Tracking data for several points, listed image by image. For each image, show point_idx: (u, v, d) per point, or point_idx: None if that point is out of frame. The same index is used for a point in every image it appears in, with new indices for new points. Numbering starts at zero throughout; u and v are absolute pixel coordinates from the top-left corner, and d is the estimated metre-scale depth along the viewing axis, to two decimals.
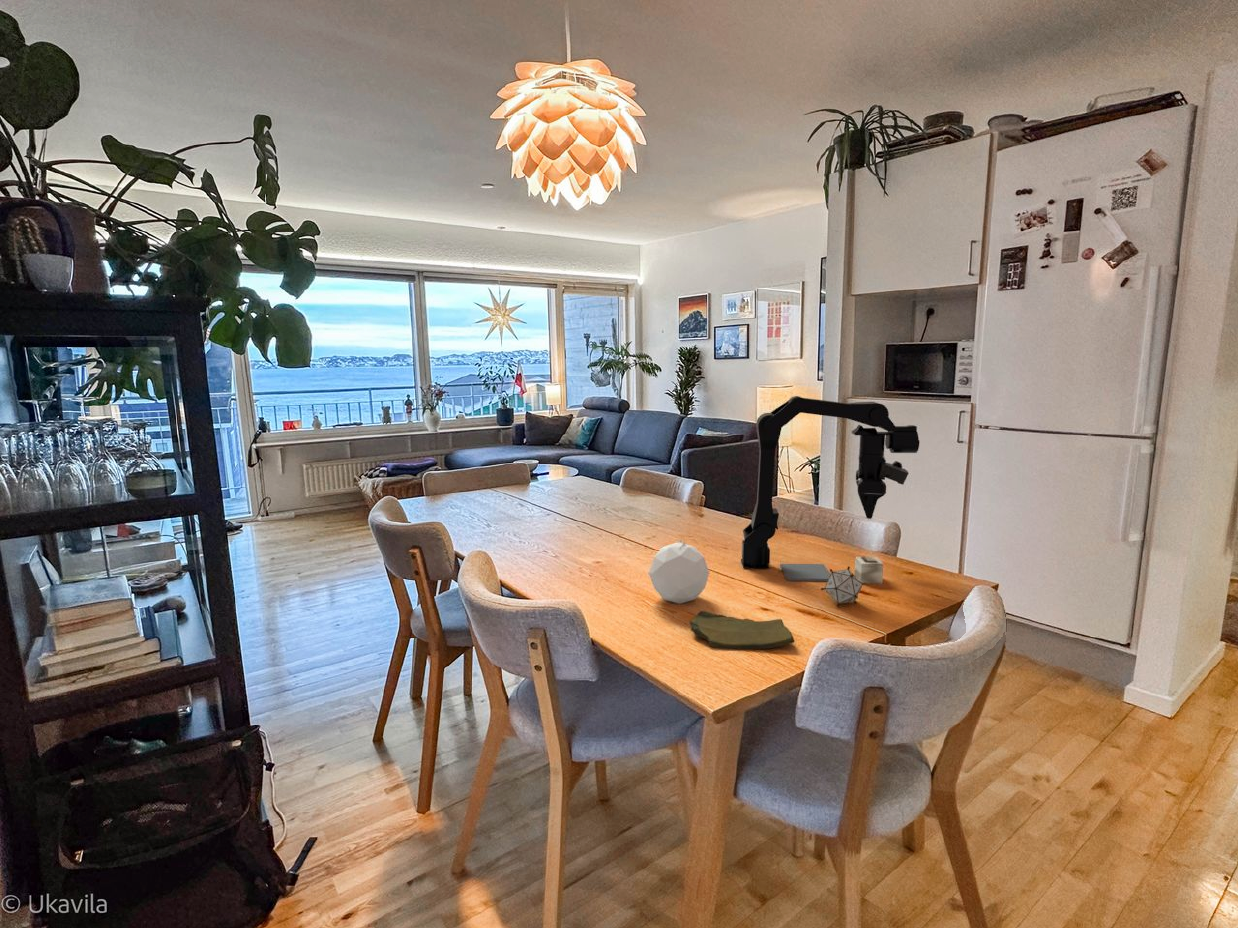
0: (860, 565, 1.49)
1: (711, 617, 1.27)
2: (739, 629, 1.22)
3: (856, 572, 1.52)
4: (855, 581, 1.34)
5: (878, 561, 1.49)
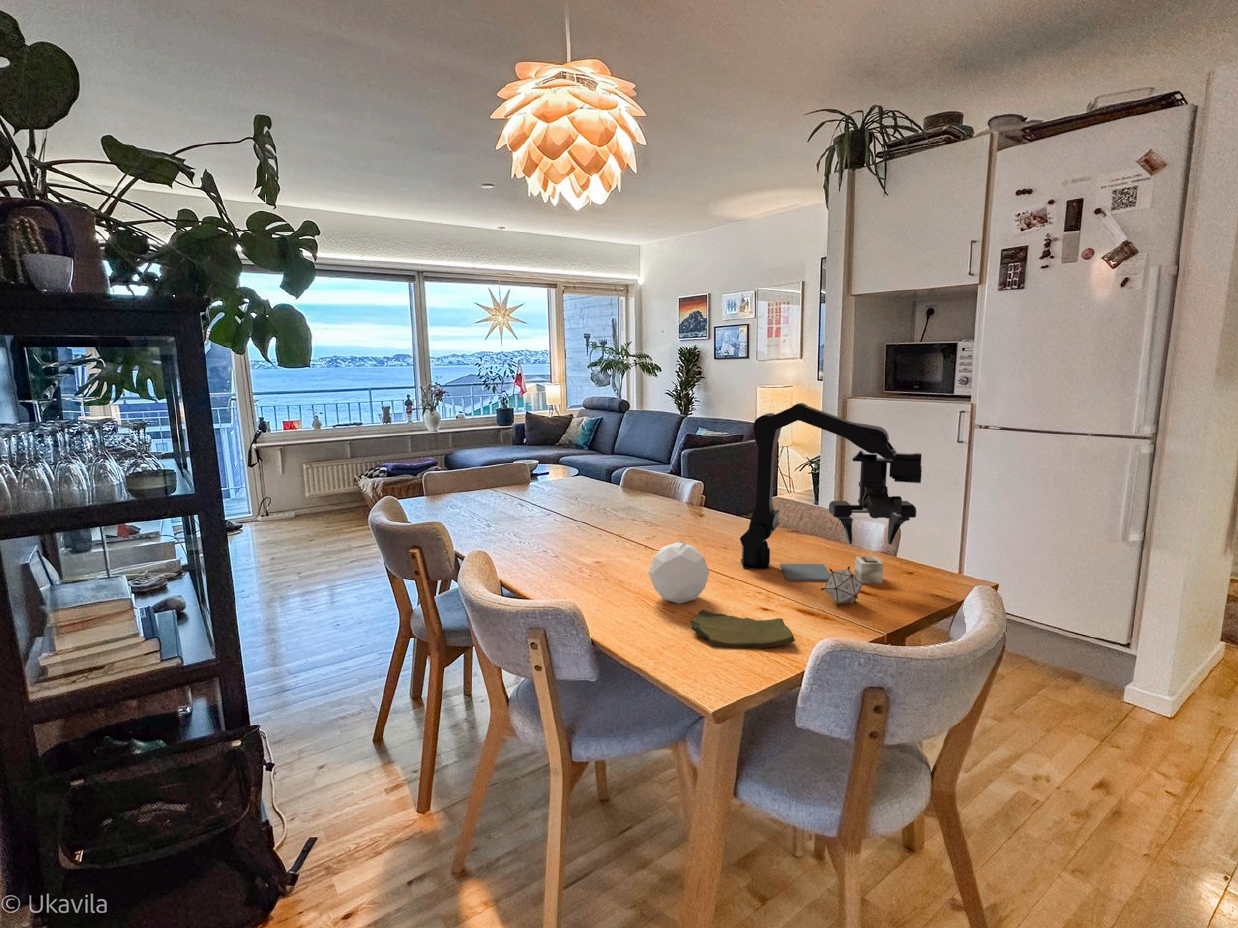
0: (860, 565, 1.49)
1: (711, 616, 1.27)
2: (740, 628, 1.23)
3: (856, 572, 1.52)
4: (855, 581, 1.34)
5: (878, 561, 1.49)
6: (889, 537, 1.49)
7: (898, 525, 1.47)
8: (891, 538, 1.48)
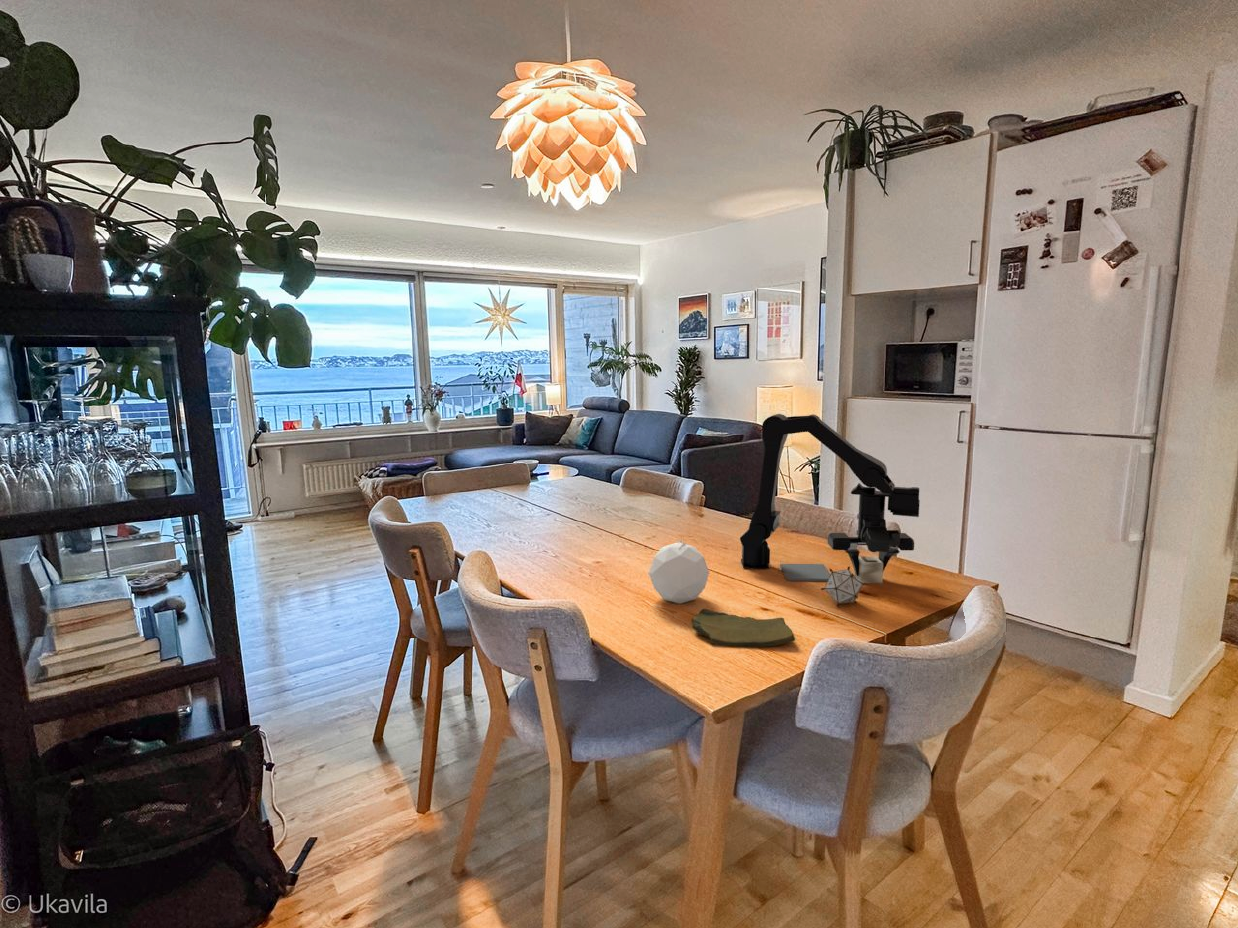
0: (860, 565, 1.49)
1: (712, 615, 1.28)
2: (740, 627, 1.23)
3: None
4: (855, 581, 1.34)
5: (878, 561, 1.49)
6: None
7: (888, 557, 1.48)
8: None
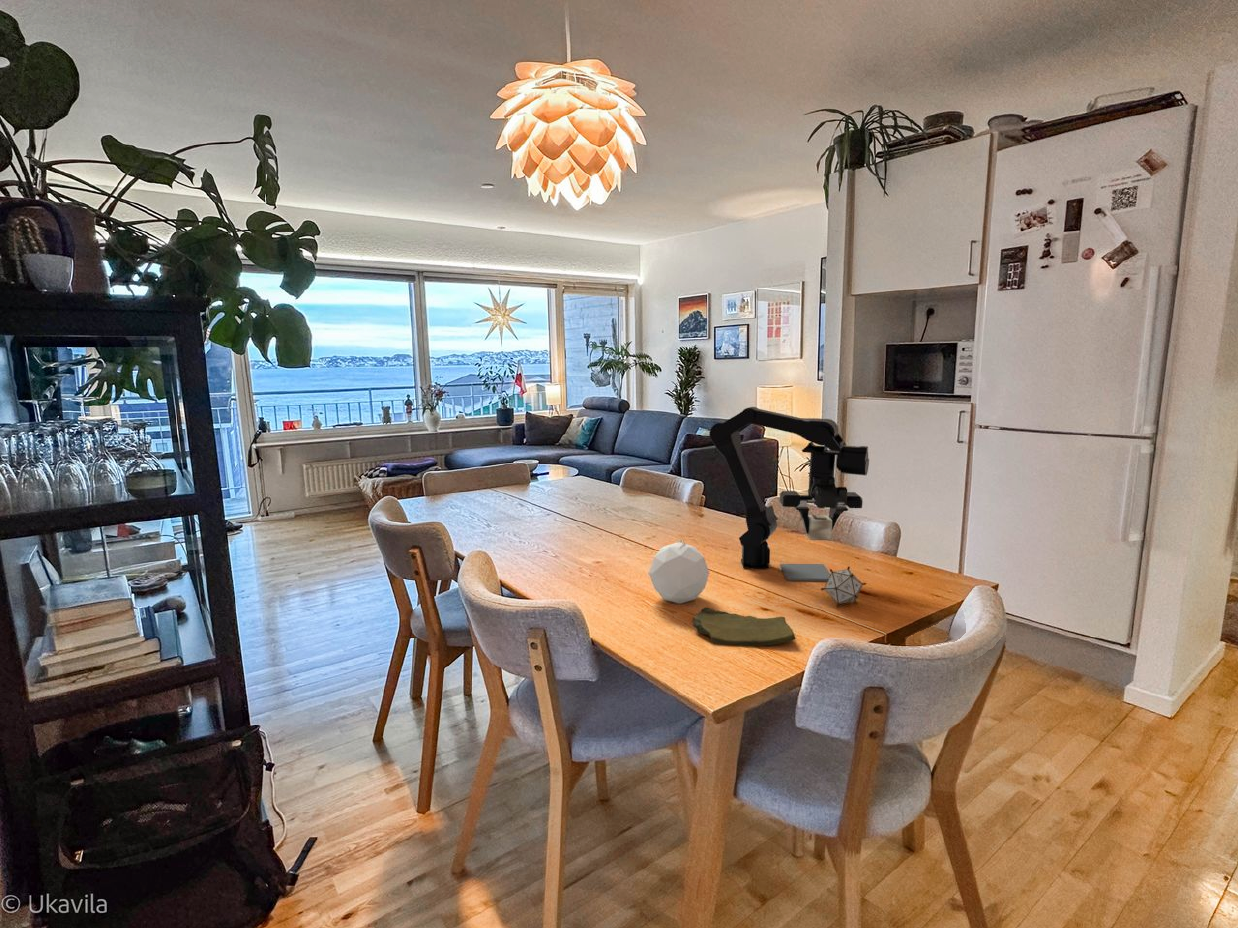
0: (810, 522, 1.51)
1: (714, 614, 1.28)
2: (741, 626, 1.24)
3: None
4: (855, 581, 1.34)
5: (828, 518, 1.52)
6: None
7: (837, 515, 1.51)
8: None
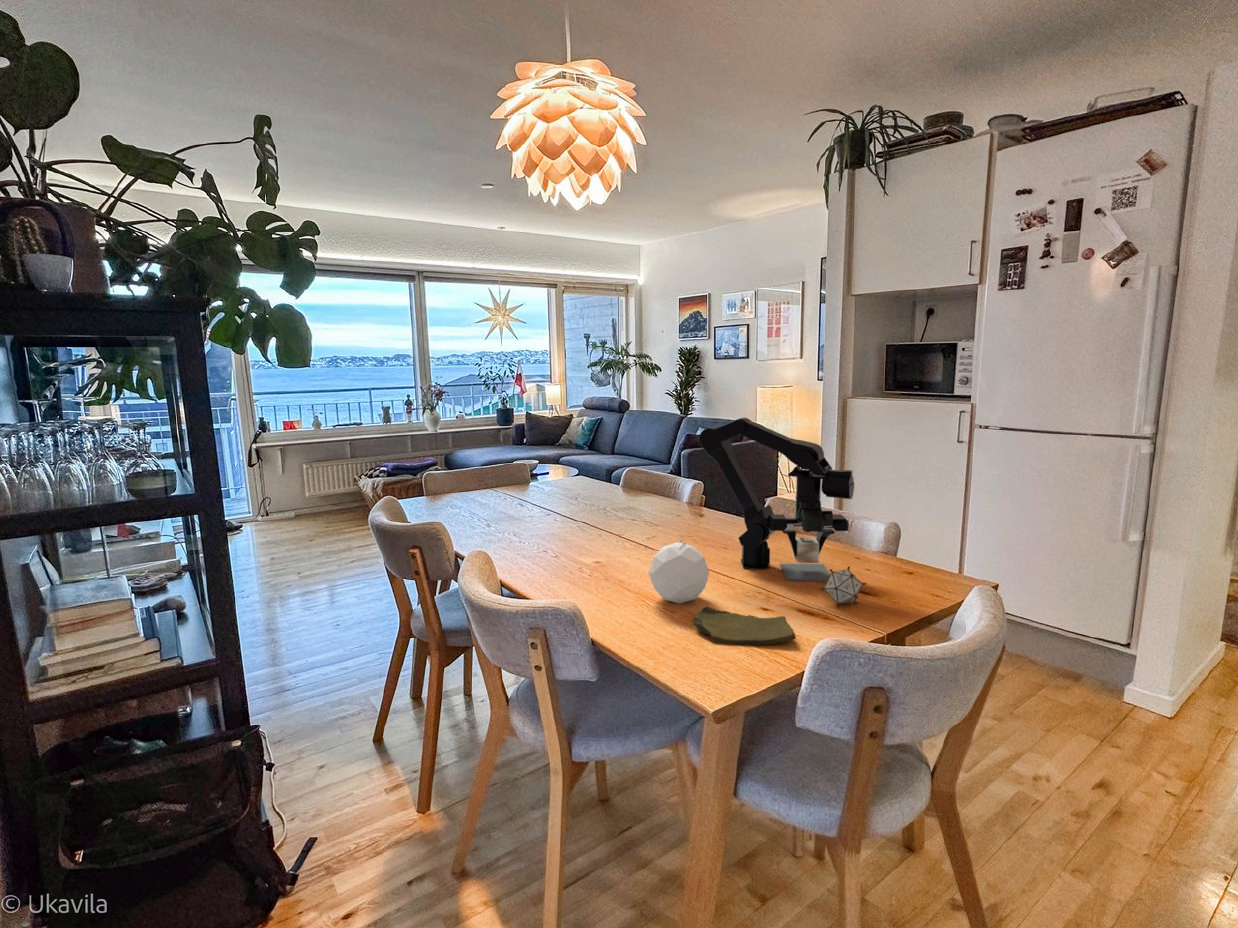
0: (797, 545, 1.53)
1: (714, 613, 1.29)
2: (742, 625, 1.24)
3: None
4: (855, 581, 1.34)
5: (815, 541, 1.54)
6: None
7: (824, 538, 1.53)
8: None
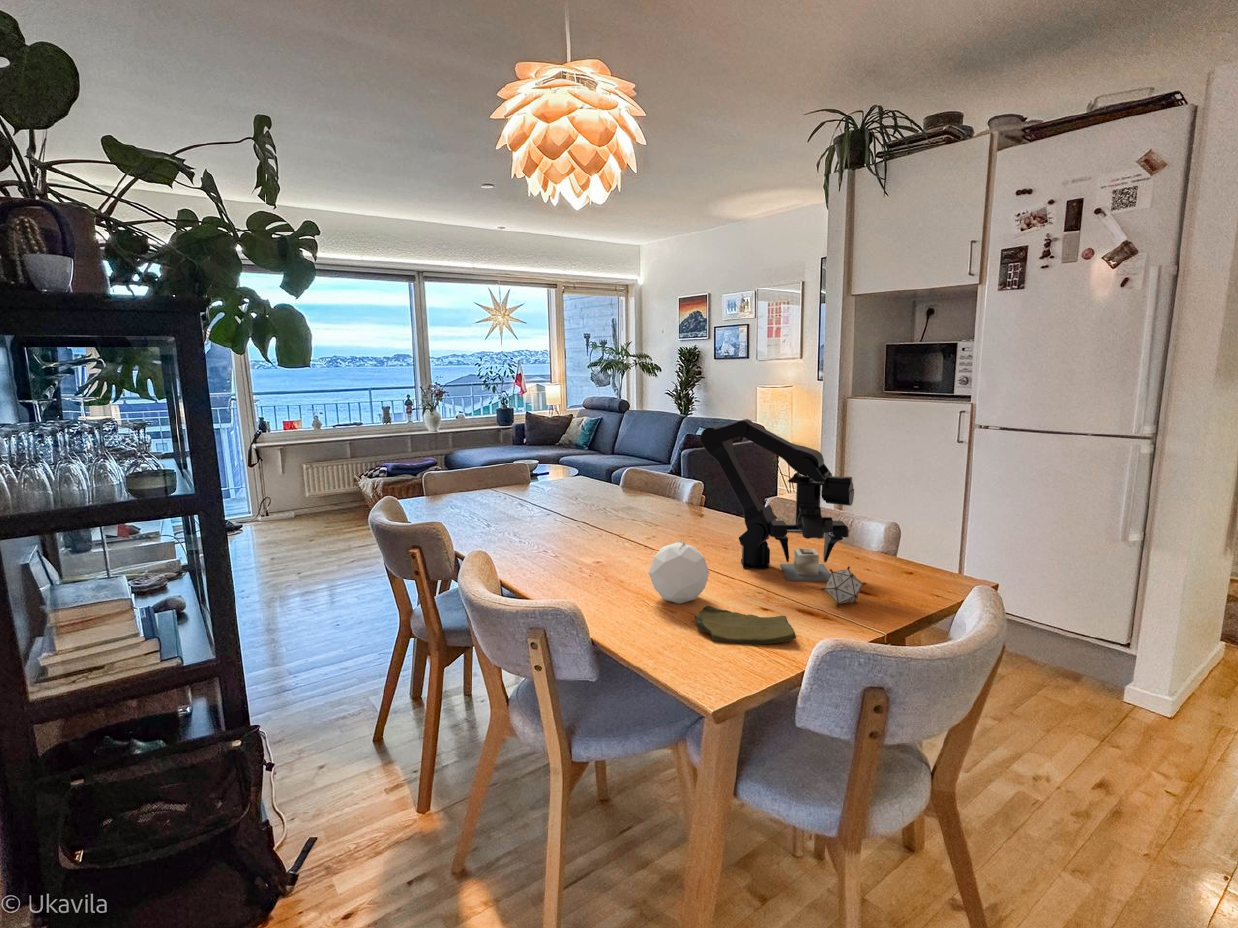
0: (797, 556, 1.54)
1: (715, 612, 1.29)
2: (743, 624, 1.24)
3: (794, 563, 1.57)
4: (855, 581, 1.34)
5: (815, 553, 1.54)
6: (824, 555, 1.55)
7: (832, 544, 1.53)
8: (826, 556, 1.54)
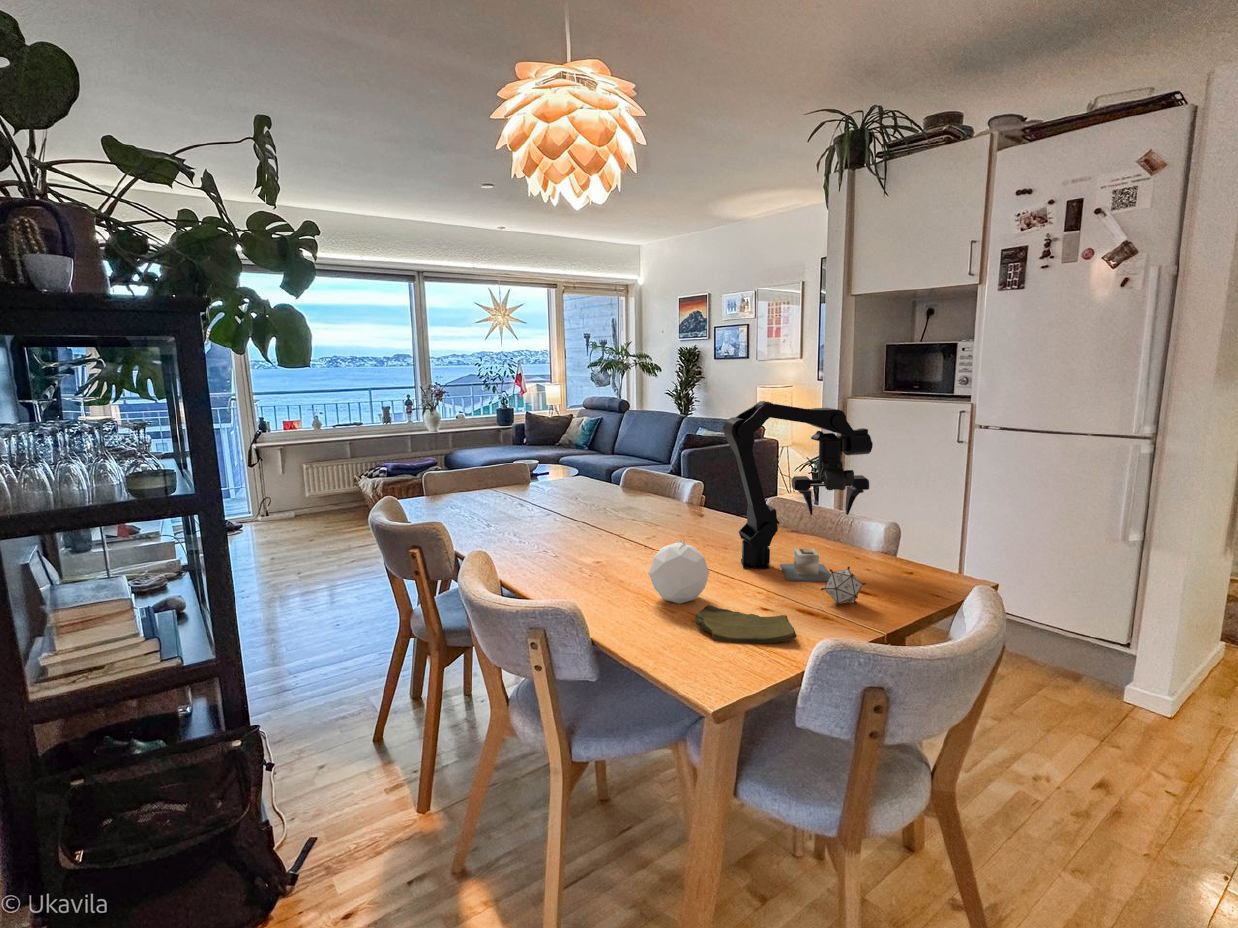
0: (797, 556, 1.54)
1: (716, 611, 1.30)
2: (743, 623, 1.25)
3: (794, 563, 1.57)
4: (855, 581, 1.34)
5: (815, 553, 1.54)
6: (846, 508, 1.63)
7: (853, 497, 1.61)
8: (848, 509, 1.63)
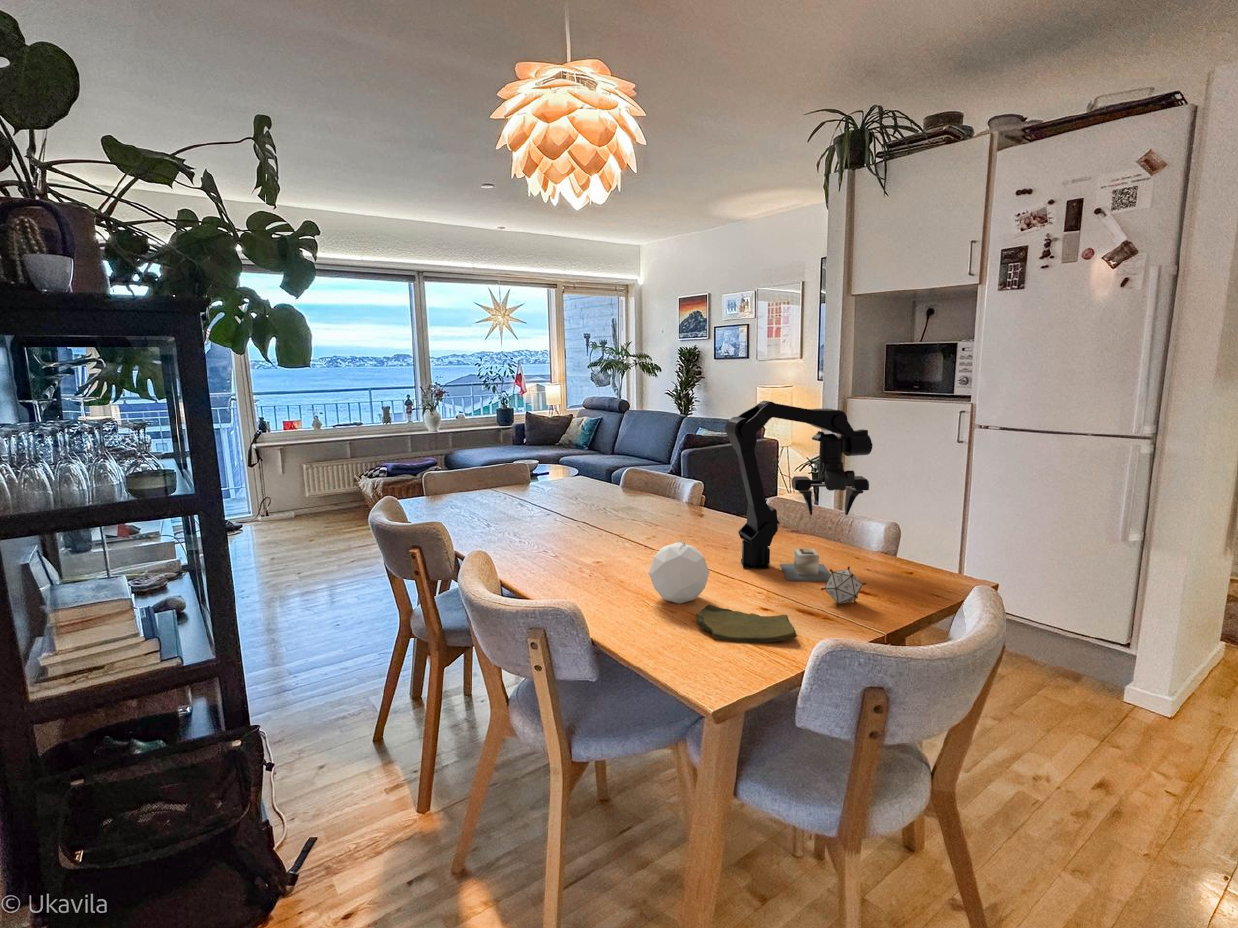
0: (797, 556, 1.54)
1: (717, 611, 1.30)
2: (744, 623, 1.25)
3: (794, 563, 1.57)
4: (855, 581, 1.34)
5: (815, 553, 1.54)
6: (846, 508, 1.64)
7: (853, 497, 1.62)
8: (847, 509, 1.64)
